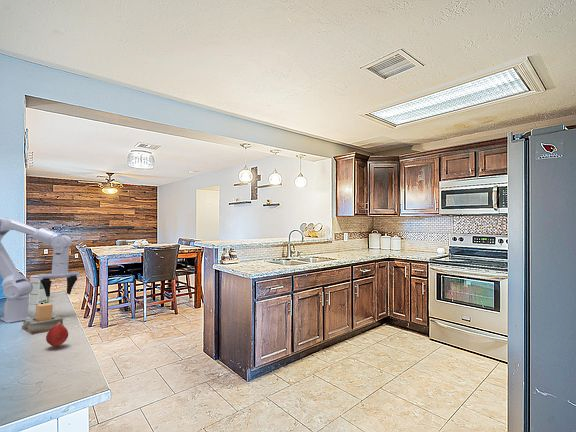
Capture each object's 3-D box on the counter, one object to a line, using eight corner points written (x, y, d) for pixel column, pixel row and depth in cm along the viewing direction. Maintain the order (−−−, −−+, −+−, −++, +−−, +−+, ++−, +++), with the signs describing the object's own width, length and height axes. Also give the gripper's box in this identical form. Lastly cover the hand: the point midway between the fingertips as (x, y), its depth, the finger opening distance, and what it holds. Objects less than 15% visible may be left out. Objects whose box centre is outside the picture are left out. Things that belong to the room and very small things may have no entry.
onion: (43, 351, 99) (45, 325, 99) (47, 345, 104) (49, 321, 104) (66, 349, 102) (67, 323, 102) (68, 343, 107) (70, 319, 107)
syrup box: (37, 304, 158) (39, 275, 159) (28, 304, 159) (30, 275, 160) (48, 302, 163) (50, 274, 164) (39, 301, 165) (41, 273, 165)
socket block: (21, 328, 121) (22, 319, 121) (52, 322, 129) (53, 314, 129) (31, 334, 114) (32, 324, 115) (63, 328, 123) (64, 318, 123)
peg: (34, 325, 121) (36, 304, 122) (47, 323, 125) (48, 303, 125) (38, 327, 119) (40, 306, 119) (51, 325, 122) (52, 304, 123)
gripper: (43, 265, 128) (41, 298, 128) (83, 262, 140) (81, 293, 139) (37, 263, 132) (35, 296, 132) (76, 261, 144) (74, 291, 143)
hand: (58, 295), depth 136 cm, fingers open, 7 cm apart
